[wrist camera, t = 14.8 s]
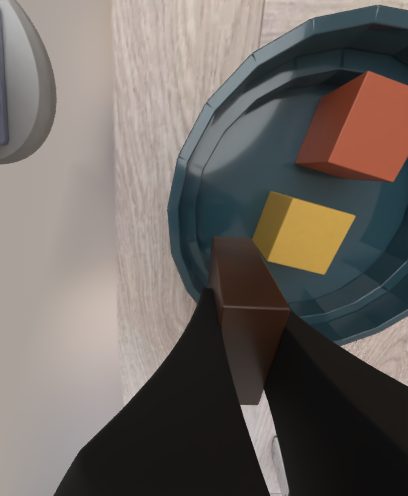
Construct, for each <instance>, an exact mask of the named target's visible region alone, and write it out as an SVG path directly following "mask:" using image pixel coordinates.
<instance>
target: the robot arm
mask: <svg viewBox="0 0 408 496" xmlns="http://www.w3.org/2000/svg"><path fill="white" fill-rule="evenodd" d="M8 141H9V136H8V120H7V104H6V87H5V71H4V55H3V39H2V23H1V10H0V144H1V145H5V144H7V143H8ZM264 391H265V394H266V397H267V400H268V403H269V407H270V410H271V414H272V417H273V421H274V425H275V430H276V434H277V438H278V443H279V447H280V451H281V456H282V460H283V465H284V470H285V474H286V479H287V483H288V488H289V493H290V496H408V386H406V385H404V384H402V383H401V382H399V381H397V380H395V379H393V378H392V377H390V376H388V375H386V374H385V373H383V372H381V371H379V370H377V369H376V368H374V367H372V366H371V365H369V364H367V363H365V362H364V361H362V360H361V359H359V358H357V357H356V356H354V355H353V354H351V353H349V352H348V351H346V350H345V349H343V348H342V347H340V346H339V345H337V344H336V343H334V342H333V341H331V340H330V339H328V338H327V337H326V336H324V335H323V334H321V333H320V332H319V331H317V330H316V329H314V328H313V327H312V326H310V325H309V324H308V323H306V322H305V321H304V320H303V319H301V318H300V317H299V316H298V315H296V314H295V313H294V312H293V311H291V310H290V313H289V316H288V319H287V322H286V325H285V328H284V331H283V334H282V337H281V339H280V342H279V345H278V348H277V351H276V354H275V357H274V360H273V363H272V366H271V369H270V372H269V375H268V378H267V380H266V383H265V386H264ZM54 496H270V494H269V491H268V488H267V485H266V482H265V480H264V477H263V474H262V471H261V468H260V466H259V463H258V459H257V456H256V453H255V450H254V447H253V444H252V441H251V438H250V435H249V432H248V429H247V426H246V423H245V420H244V417H243V413H242V410H241V406H240V403H239V400H238V396H237V393H236V389H235V386H234V382H233V378H232V374H231V370H230V366H229V362H228V358H227V354H226V350H225V345H224V341H223V335H222V325H220V324H219V322H218V316H217V311H216V305H215V300H214V295H213V291H212V288H203V289H202V290H201V293H200V299H199V302H198V304H197V307H196V309H195V311H194V314H193V316H192V318H191V320H190V322H189V324H188V325H187V327H186V329H185V331H184V333H183V334H182V336H181V337H180V339H179V341H178V342H177V344H176V345H175V347H174V348H173V350H172V351H171V352H170V354H169V355H168V356H167V358H166V359H165V360H164V362H163V363H162V364H161V366H160V367H159V368H158V369H157V371H156V372H155V373H154V374H153V376H152V377H151V378H150V379H149V380H148V381H147V382H146V384H145V385H144V386H143V387H142V388H141V389H140V390H139V391H138V392H137V394H136V395H135V396H134V397H133V398H132V399H131V400H130V401H129V403H128V404H127V405H126V406H125V407H124V408H123V409H122V410H121V411H120V412H119V413H118V414H117V415H116V416H115V417H114V418H113V419H112V420H111V421H110V422H109V423H108V424H107V425H106V426H105V427H104V428H103V429H102V430H101V431H99V433H97V435H95V436H94V437H93V438H92V439H91V440H90V441H89V442H88V443H87V444H86V445H85V446H84V447H83V448H82V449H81V450H80V451H79V453H78V454H77V456H76V458H75V459H74V461H73V462H72V464H71V466H70V468H69V469H68V471H67V473H66V474H65V476H64V478H63V480H62V481H61V483H60V485H59V487H58V488H57V490H56V492H55V494H54Z"/></svg>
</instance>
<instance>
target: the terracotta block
mask: <svg viewBox="0 0 408 496" xmlns="http://www.w3.org/2000/svg"><path fill="white" fill-rule="evenodd" d="M407 157H408V86H407V85H405V84H402V83H399V82H397V81H394V80H392V79H389V78H386V77H384V76H381V75H378V74H376V73H373V72H370V71H367V72H365V73H363V74H362V75H360V76H358V77H357V78H355V79H353V80H351V81H350V82H348V83H346V84H344V85H343V86H341V87H339V88H338V89H336V90H334V91H332V92H331V93H329V94H327V95H325V96H324V97H322V98H320V100H319V103H318V105H317V108H316V111H315V113H314V116H313V118H312V121H311V123H310V126H309V128H308V131H307V134H306V136H305V139H304V141H303V144H302V146H301V149H300V151H299V154H298V157H297V159H296V162H295V164H297V165H300V166H303V167H307V168H310V169H313V170H317V171H320V172H323V173H326V174H330V175H333V176H336V177H340V178H343V179H351V180H366V181H380V182H394V180H395V178H396V177H397V175H398V173H399V171H400V169H401V168H402V166H403V164H404V162H405V161H406V159H407Z"/></svg>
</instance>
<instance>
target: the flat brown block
mask: <svg viewBox="0 0 408 496" xmlns="http://www.w3.org/2000/svg"><path fill="white" fill-rule="evenodd" d="M207 288H212V291H213V295H214V300H215V305H216V311H217V316H218V322H219V324H220V325H222V335H223V341H224V345H225V350H226V354H227V358H228V362H229V366H230V370H231V374H232V378H233V382H234V386H235V389H236V393H237V396H238V400H239V403H240V405H258V404H259V402H260V399H261V396H262V393H263V390H264V386H265V383H266V380H267V378H268V375H269V372H270V369H271V366H272V363H273V360H274V357H275V354H276V351H277V348H278V345H279V342H280V339H281V337H282V334H283V331H284V328H285V325H286V322H287V319H288V316H289V313H290V307H289V305H288V303H287V301H286V300H285V298H284V296H283V294H282V292H281V291H280V289H279V287H278V285H277V283H276V282H275V280H274V278H273V276H272V274H271V273H270V271H269V269H268V267H267V265H266V264H265V262H264V260H263V258H262V256H261V255H260V253H259V251H258V249H257V247H256V245H255V244H254V242H253V240H252V239H251V238H238V237H220V236H213V237H212V244H211V255H210V265H209V276H208V287H207Z"/></svg>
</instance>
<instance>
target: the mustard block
mask: <svg viewBox="0 0 408 496" xmlns="http://www.w3.org/2000/svg"><path fill="white" fill-rule="evenodd" d="M354 219H355V215H352V214H349V213H346V212H342V211H339V210H335V209H332V208H329V207H325V206H322V205H319V204H315V203H312V202H308V201H305V200H301V199H298V198H294V197H291V196H287V195H284V194H280V193H277V192H273V191H270V193H269V195H268V198H267V201H266V203H265V206H264V209H263V212H262V214H261V217H260V220H259V222H258V225H257V228H256V231H255V233H254V236H253V239H252V240H253V242H254V244H255V245H256V247H257V248H258V249H259V251H260V252H261V253H262V255H263V256H264V257H265V259H266V260H267V261H269V262H273V263H277V264H281V265H285V266H290V267H294V268H298V269H302V270H306V271H310V272H314V273H318V274H323V275H324V274H325V273H326V271H327V269H328V267H329V266H330V264H331V262H332V260H333V258H334V256H335V254H336V252H337V251H338V249H339V247H340V245H341V243H342V241H343V239H344V238H345V236H346V234H347V232H348V230H349V228H350V226H351V224H352V223H353V221H354Z"/></svg>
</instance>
